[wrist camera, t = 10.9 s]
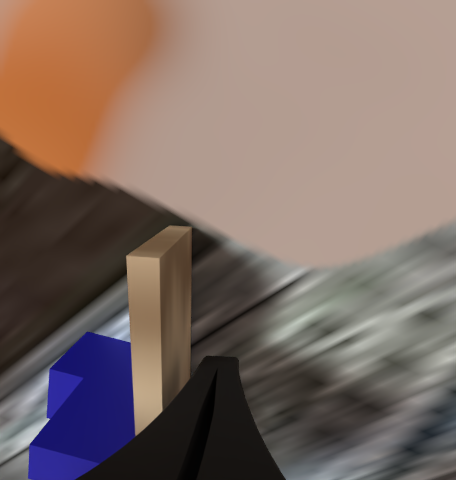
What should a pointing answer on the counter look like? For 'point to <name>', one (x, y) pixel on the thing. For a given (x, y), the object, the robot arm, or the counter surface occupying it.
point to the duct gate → (160, 320)
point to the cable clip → (85, 409)
